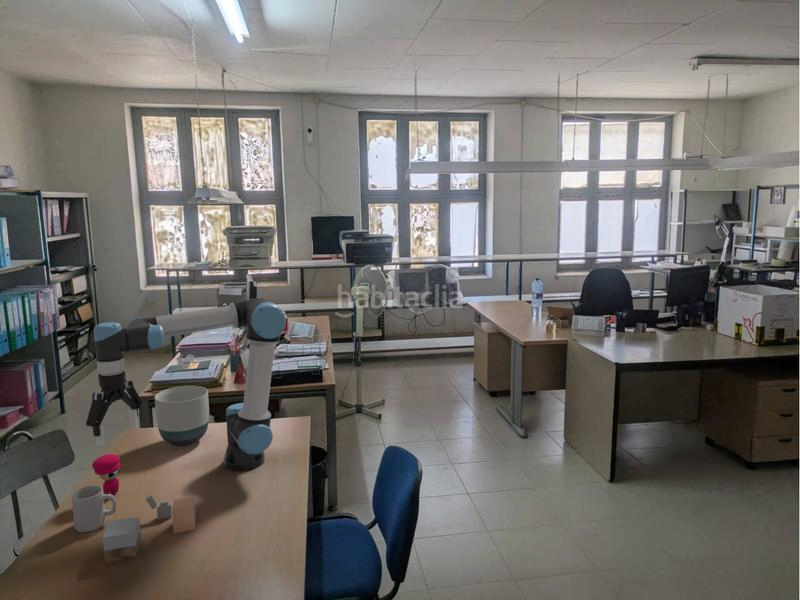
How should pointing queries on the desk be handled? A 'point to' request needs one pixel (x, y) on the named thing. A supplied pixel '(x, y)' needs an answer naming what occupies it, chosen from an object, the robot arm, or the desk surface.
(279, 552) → the desk surface
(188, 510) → the clay block
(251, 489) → the desk surface
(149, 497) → the lighter
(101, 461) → the toy
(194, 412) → the planter
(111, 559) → the tower base
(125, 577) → the desk surface
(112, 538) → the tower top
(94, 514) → the mug
